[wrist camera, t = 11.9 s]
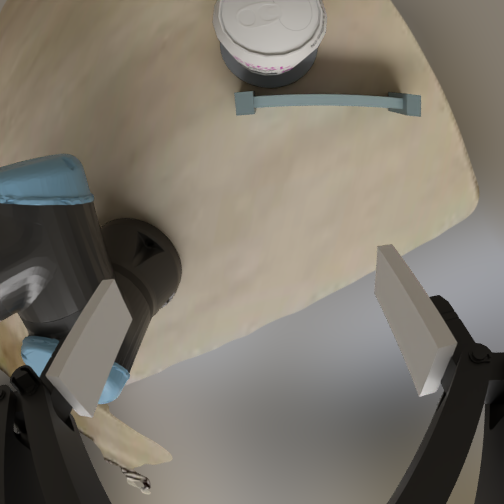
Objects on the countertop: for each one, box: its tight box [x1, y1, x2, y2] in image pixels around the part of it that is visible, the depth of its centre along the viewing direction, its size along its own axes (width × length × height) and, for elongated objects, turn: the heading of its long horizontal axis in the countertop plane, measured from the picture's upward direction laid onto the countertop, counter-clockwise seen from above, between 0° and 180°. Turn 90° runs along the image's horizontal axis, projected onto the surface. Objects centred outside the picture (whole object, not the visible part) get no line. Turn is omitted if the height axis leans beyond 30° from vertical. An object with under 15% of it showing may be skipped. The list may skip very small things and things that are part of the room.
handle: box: [234, 91, 421, 117], centre depth 30 cm, size 20×2×6 cm, turn 95°
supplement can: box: [213, 0, 327, 76], centre depth 22 cm, size 8×8×15 cm
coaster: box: [220, 42, 318, 88], centre depth 29 cm, size 11×11×1 cm
